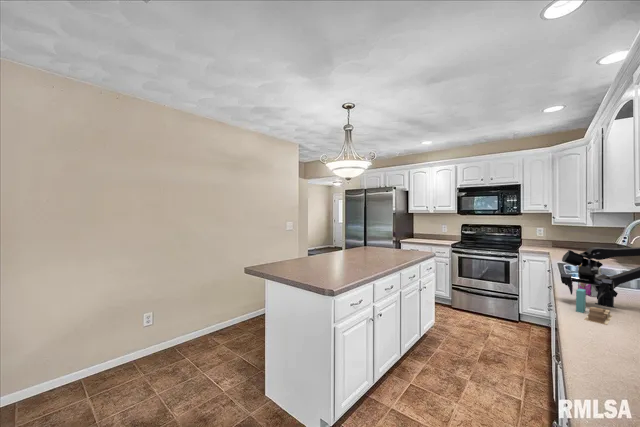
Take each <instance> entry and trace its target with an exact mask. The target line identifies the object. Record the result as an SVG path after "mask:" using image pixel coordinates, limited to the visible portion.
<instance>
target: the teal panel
mask: <svg viewBox="0 0 640 427" xmlns="http://www.w3.org/2000/svg"><path fill="white" fill-rule="evenodd" d="M575 293H576V296H575V312H577V313H580V314H584V313H585V312H586V309H587V308H586V307H587V306H586V304H587V303H586V299H587V294H586V290H585V289H578V288H577V289H576V291H575Z"/></svg>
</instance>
